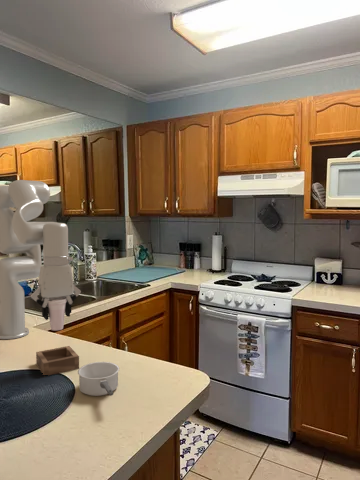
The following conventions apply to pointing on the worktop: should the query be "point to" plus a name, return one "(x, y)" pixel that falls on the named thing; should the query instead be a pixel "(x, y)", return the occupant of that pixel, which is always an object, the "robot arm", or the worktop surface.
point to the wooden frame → (57, 360)
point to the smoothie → (56, 312)
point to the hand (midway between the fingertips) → (57, 316)
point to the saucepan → (98, 378)
